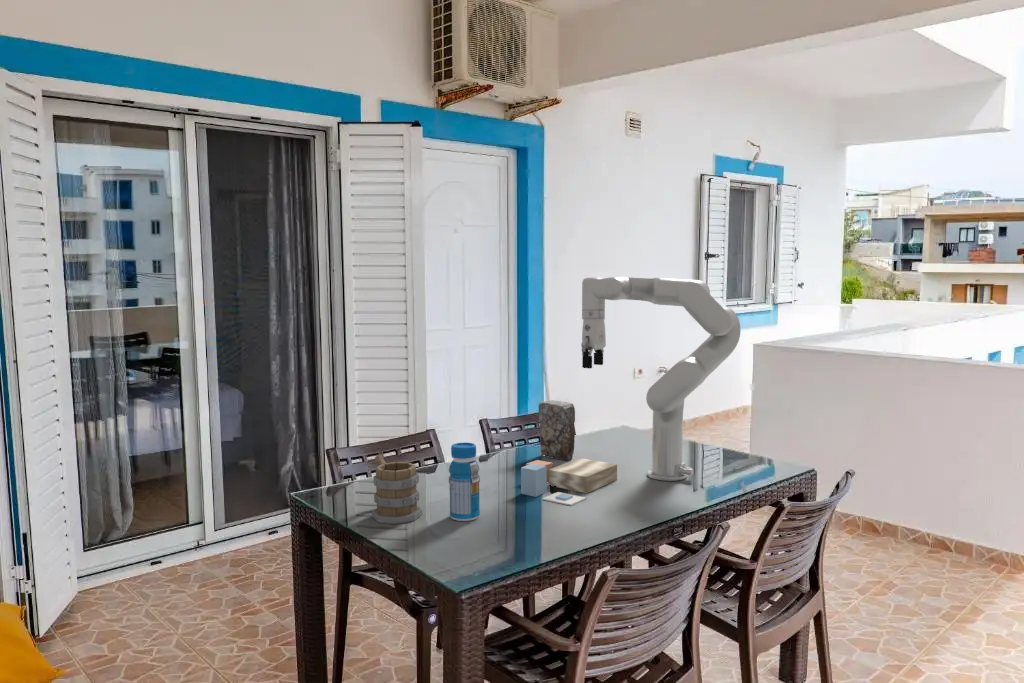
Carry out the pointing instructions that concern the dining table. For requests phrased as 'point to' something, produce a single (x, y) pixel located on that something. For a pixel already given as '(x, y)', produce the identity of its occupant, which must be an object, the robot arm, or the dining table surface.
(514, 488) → the dining table surface
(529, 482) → the blue block
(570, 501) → the card
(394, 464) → the tankard
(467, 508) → the beverage bottle
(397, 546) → the dining table surface
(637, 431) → the dining table surface
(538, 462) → the terracotta cube
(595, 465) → the ash base block
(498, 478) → the dining table surface
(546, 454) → the stone block
